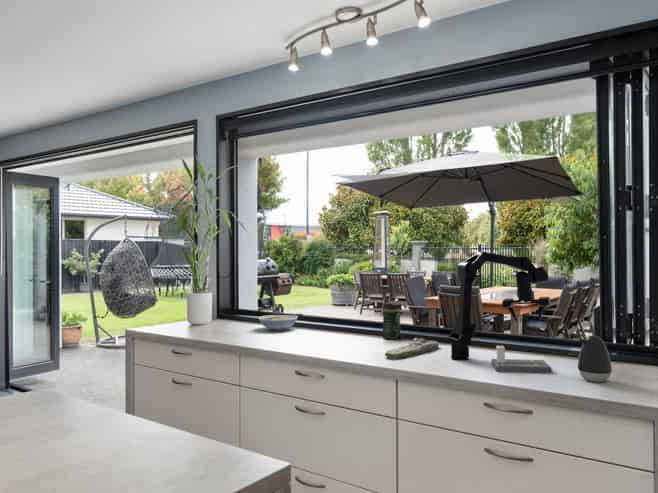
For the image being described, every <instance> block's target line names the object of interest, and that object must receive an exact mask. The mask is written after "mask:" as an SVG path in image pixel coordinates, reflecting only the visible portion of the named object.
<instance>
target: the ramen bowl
mask: <svg viewBox="0 0 658 493" xmlns="http://www.w3.org/2000/svg"><path fill="white" fill-rule="evenodd" d="M299 316H303V313H292V314H291V313H286V314H285V313H282V314H265V315H260V316H258V320H259V322H260V323H261V324H262V325H263V326H264V328H267V329H270V330H271V331H276V332H278V331H285V330H287V329H289V328H291V327H292V326H293V325H294V324H295V323H296V321H297V320H298V317H299Z"/></svg>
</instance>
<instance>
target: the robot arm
mask: <svg viewBox="0 0 658 493" xmlns="http://www.w3.org/2000/svg"><path fill="white" fill-rule="evenodd" d="M486 262H487V263H491V264H492V263H493V264H496V265H503V266H507V267H509V268H511V269H513V272H512V273H511V274H510V276H511V277H515V280H516V282H515V283H516V296H517V299H514V297H513V298H504V299H503V300H502V302H501V303H502V304H501V307H503V308H505V309H506V310H507V309H508V311H509V312H510V314H511V315H512V316H513V319H514V320H515V322H516V323H518V322H519V319H518V315H517V314H518V313H517V310H516V305H533V304H534V305H536V304H538V321H539V322H542V316H543V313H544V309H545V308H547V306H550V304H551V303H552V301H551V297H549V296H539V297H538V298H537V299H536V298H535V291H533V288H532V285H536V284H542V283H543V284H544V283H547V282H548V280H549V274H548V272H547V271H546V270H545V267H544V266H538V267H536V266H535V265H534V264H533V263H532V262H531V259H530V258H529V257H528V256H521V255H519V256H517V255H516V256H513V255H512V256H507V255H502V254H499V253H490V252H487V251H477V253H476V254H474V255H472V256H471V257H469V258H467V259H466V260H463V261H461V262H460V263H458V265H457V277H458V280H459V282H460V283H459V302H458V316H457V319H456V321H455V322H454V326H453V331H452V332H451V333H449V336H447V339H448V341H449V342H450V350H451V355H450V357H451V360H455V361H457V360H461V361H462V360H464V361H468V360H469V358H470V347H469V345H470V344H471V340H472V339H473V338H474V335H475V334H476V330H475V329H476V323H475V322H472V319H471V313H472V312H471V311H472V298H473V297H472V296H473V293H472V292H473V284H474V281H475V280H476V277H477V273H478V270H479V269H481V268H482V267H483V265H484V264H485V263H486ZM519 270H520V271H519Z"/></svg>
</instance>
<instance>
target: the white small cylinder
mask: <svg viewBox="0 0 658 493" xmlns="http://www.w3.org/2000/svg"><path fill="white" fill-rule="evenodd" d="M495 349H496V350H495V351H496V359H497V362H498V363H505V359H506V354H505V353H506V352H505V351H506V348H505V346H504V345H496V346H495Z"/></svg>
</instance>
